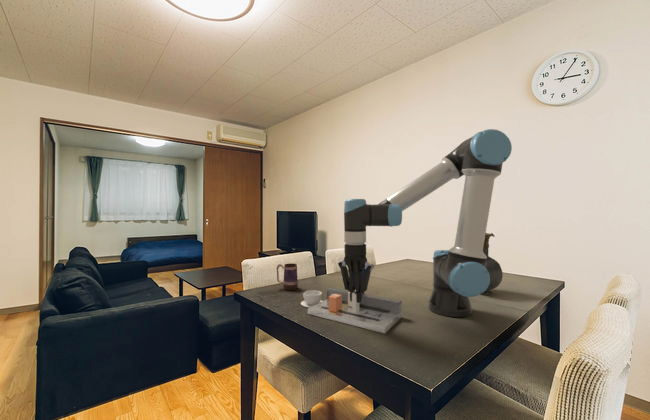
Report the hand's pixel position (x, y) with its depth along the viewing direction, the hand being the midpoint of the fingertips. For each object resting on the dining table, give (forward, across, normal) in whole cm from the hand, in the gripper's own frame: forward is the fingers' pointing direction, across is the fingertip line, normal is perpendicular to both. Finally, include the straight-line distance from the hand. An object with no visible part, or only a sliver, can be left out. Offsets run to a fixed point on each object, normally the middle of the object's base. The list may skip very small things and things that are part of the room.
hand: (355, 311), depth 100 cm
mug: (+3, +46, -16) cm, 49 cm away
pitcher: (+4, -32, -62) cm, 70 cm away
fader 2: (+1, +5, -8) cm, 9 cm away
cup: (+4, +10, -21) cm, 23 cm away
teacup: (+4, +23, -6) cm, 24 cm away
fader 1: (+1, +8, 0) cm, 8 cm away
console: (+3, +3, -4) cm, 6 cm away
